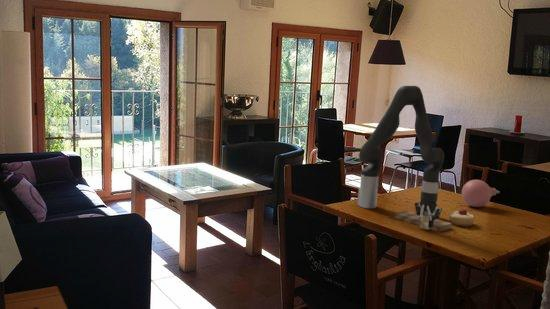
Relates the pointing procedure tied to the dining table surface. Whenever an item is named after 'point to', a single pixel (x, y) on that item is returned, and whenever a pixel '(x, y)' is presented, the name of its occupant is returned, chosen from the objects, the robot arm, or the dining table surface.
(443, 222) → the board
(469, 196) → the balloon
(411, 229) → the dining table surface
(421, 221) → the beige cube mallet
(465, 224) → the pastry
